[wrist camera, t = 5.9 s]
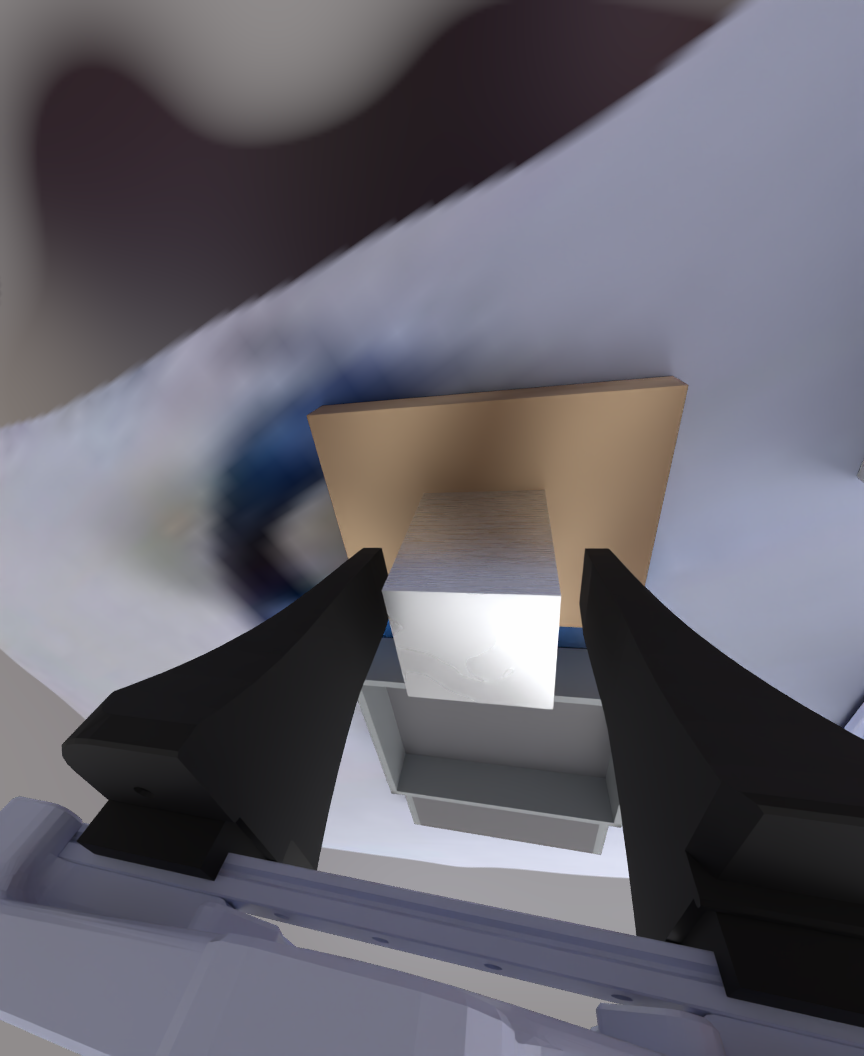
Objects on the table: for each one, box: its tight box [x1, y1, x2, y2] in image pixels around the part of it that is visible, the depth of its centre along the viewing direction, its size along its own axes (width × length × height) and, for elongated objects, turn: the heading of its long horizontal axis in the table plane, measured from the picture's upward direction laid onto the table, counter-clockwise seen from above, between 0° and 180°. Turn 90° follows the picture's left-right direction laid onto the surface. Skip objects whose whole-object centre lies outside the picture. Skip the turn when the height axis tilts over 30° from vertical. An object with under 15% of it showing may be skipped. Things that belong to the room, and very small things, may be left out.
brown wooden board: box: [307, 376, 688, 627], centre depth 14 cm, size 11×9×1 cm
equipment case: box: [358, 638, 622, 855], centre depth 22 cm, size 13×19×2 cm
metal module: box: [382, 490, 561, 709], centre depth 12 cm, size 4×4×5 cm
